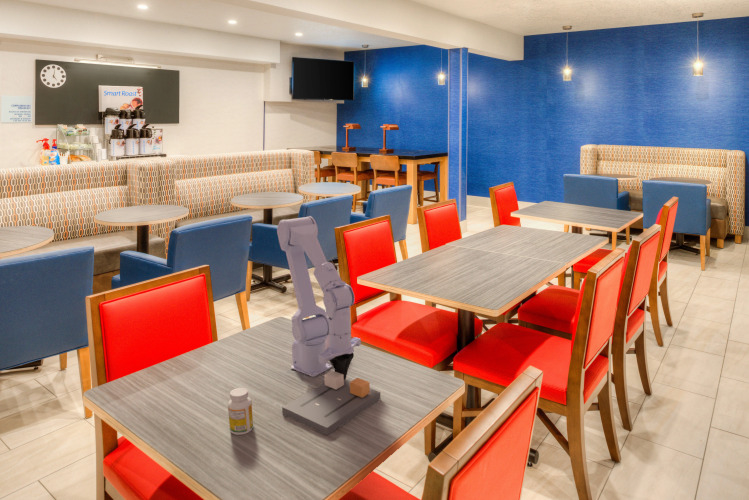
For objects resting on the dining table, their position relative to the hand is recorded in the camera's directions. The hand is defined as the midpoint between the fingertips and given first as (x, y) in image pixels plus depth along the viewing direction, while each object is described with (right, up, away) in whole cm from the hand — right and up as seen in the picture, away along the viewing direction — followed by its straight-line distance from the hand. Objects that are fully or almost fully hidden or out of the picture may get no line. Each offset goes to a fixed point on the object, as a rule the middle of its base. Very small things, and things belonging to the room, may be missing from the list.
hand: (341, 378), depth 140 cm
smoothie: (-6, +3, +25) cm, 26 cm away
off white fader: (-2, -1, -2) cm, 3 cm away
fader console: (-2, -5, -8) cm, 9 cm away
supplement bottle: (-22, -8, -17) cm, 29 cm away
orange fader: (+5, -2, -6) cm, 8 cm away
